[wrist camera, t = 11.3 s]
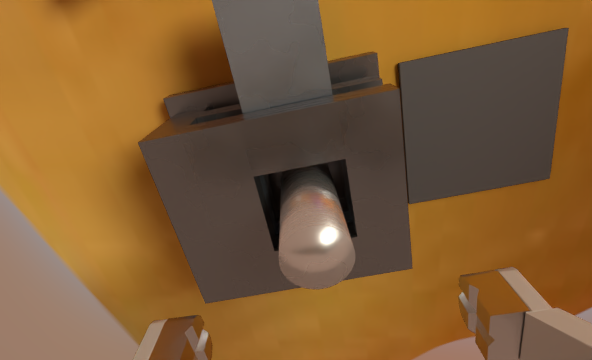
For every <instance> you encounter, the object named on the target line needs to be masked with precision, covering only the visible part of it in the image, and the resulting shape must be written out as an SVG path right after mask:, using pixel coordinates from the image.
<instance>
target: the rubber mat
mask: <svg viewBox="0 0 592 360" xmlns="http://www.w3.org/2000/svg"><path fill="white" fill-rule="evenodd" d="M567 36H568V28H562V29H558V30H553V31H548V32H543V33H539V34H534V35H529V36H525V37H520V38H515V39H510V40H506V41H501V42H496V43H491V44H487V45H482V46H477V47H473V48H468V49H463V50H458V51H454V52H449V53H444V54H440V55H435V56H430V57H425V58H421V59H416V60H411V61H406V62H402V63H398V68H399V82H400V96H401V110H402V124H403V138H404V152H405V166H406V180H407V193H408V203H409V204H413V203H418V202H424V201H429V200H435V199H440V198H446V197H451V196H457V195H462V194H468V193H473V192H479V191H484V190H490V189H495V188H501V187H506V186H512V185H517V184H523V183H528V182H533V181H539V180H544V179H550V172H551V164H552V156H553V148H554V140H555V132H556V124H557V116H558V108H559V100H560V92H561V84H562V76H563V68H564V60H565V52H566V44H567Z"/></svg>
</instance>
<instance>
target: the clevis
mask: <svg viewBox="0 0 592 360" xmlns="http://www.w3.org/2000/svg"><path fill="white" fill-rule="evenodd" d="M212 2H213V6H214V10H215V13H216V17H217V21H218V24H219V28H220V32H221V35H222V39H223V43H224V46H225V50H226V54H227V57H228V61H229V65H230V68H231V72H232V76H233V79H234V81H233V82H229V83H224V84H219V85H215V86H210V87H205V88H201V89H196V90H192V91H187V92H182V93H178V94H173V95H169V96H167V97H166V98H164V99H163V100H164V102H165V105H166V108H167V110H168V113H169V116H170V119H169V120H167V121H166V122H165V123H163V124H162V125H161V126H159V127H158V128H157V129H155V130H154V131H153V132H151V133H150V134H149V135H147V136H146V137H145V138H144V139H142V140H141V141H140V142H138V144H139V146H140V149H141V151H142V154H143V156H144V158H145V161H146V163H147V165H148V168H149V170H150V173H151V175H152V177H153V180H154V182H155V184H156V187H157V189H158V192H159V194H160V196H161V199H162V201H163V204H164V206H165V208H166V211H167V213H168V215H169V218H170V220H171V223H172V225H173V227H174V230H175V232H176V234H177V237H178V239H179V242H180V244H181V246H182V249H183V251H184V254H185V256H186V258H187V261H188V263H189V265H190V268H191V270H192V273H193V275H194V277H195V280H196V282H197V284H198V287H199V289H200V292H201V294H202V296H203V299H204V301H205V304H206V303H212V302H218V301H223V300H229V299H235V298H241V297H247V296H253V295H259V294H265V293H271V292H277V291H283V290H288V289H294V288H300V286H298V285H295V284H294V283H292V282H291V281H289V280H288V279H287V278H286V277H285V276H284V274H283V273H282V271H281V269H280V266H279V233H280V205H281V176H282V171H286V170H291V169H296V168H301V167H306V166H311V165H316V164H322V163H328V166H329V170H330V173H331V176H332V179H333V182H334V186H335V189H336V192H337V195H338V198H339V202H340V205H341V208H342V211H343V214H344V218H345V221H346V224H347V227H348V230H349V234H350V237H351V240H352V243H353V246H354V250H355V263H354V266H353V268H352V270H351V272H350V273H349V274H348V276H347V277H346V278H345V279H343V280H348V279H353V278H359V277H365V276H371V275H377V274H383V273H389V272H395V271H401V270H407V269H412V255H411V242H410V228H409V214H408V200H407V186H406V173H405V159H404V145H403V131H402V118H401V104H400V90H399V88H397V87H395V86H394V85H392V84H385V85H383V83H382V79H381V78H379V68H378V58H377V53H376V52H368V53H363V54H359V55H354V56H349V57H345V58H340V59H336V60H331V61H327V56H326V49H325V43H324V36H323V30H322V23H321V17H320V11H319V4H318V0H212Z"/></svg>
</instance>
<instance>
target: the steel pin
mask: <svg viewBox="0 0 592 360" xmlns="http://www.w3.org/2000/svg"><path fill="white" fill-rule="evenodd" d="M354 263H355V250H354V246H353V243H352V240H351V237H350V234H349V230H348V227H347V224H346V221H345V218H344V214H343V211H342V208H341V205H340V202H339V198H338V195H337V192H336V189H335V186H334V182H333V179H332V176H331V173H330V170H329V166H328V163H322V164H316V165H311V166H306V167H301V168H296V169H291V170H286V171H282V176H281V205H280V233H279V266H280V269H281V271H282V273H283V274H284V276H285V277H286V278H287V279H288V280H289V281H291V282H292V283H294V284H295V285H298V286H300V287H303V288H307V289H323V288H328V287H331V286H333V285H336V284H338V283H339V282H341V281H342V280H343V279H345V278H346V277H347V276H348V274H349V273H350V272H351V270H352V268H353V266H354Z"/></svg>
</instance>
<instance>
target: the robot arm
mask: <svg viewBox="0 0 592 360" xmlns="http://www.w3.org/2000/svg"><path fill="white" fill-rule="evenodd" d="M459 287H460V288H461V290H462V293H461V294H460V295H459V308H460V312H461V315H462V318H463V320H464V322H465V324H466V326H467V328H468V329H469V330H471V331H472V332H474V333H475V334H476V340H475V341H476V344H477V345H478V348H479V349H480V351H481V353H482V354H483V356H484V358H485V360H592V324H591V323H589V322H587V321H585V320H583V319H581V318H579V317H577V316H574V315H572V314H570V313H568V312H566V311H564V310H562V309H560V308H552V307H551V306H550V305H549V304H548V303H547V302H546V301H545V300H544V299H543V298H542V296H541V295H540V294H539V293H538V292H537V291H536V290H535V289H534V288H533V287H532V285H531V284H530V283H529V282H528V281H527V280H526V279H525V278H524V277H523V276H522V274H521V273H520V272H519V271H518V270H517V269H516V268H514V267H509V268H503V269H496V270H490V271H484V272H478V273H472V274H466V275H460V277H459ZM203 326H204V321H203V319H202V317H201V316H199V315H194V316H186V317H178V318H170V319H165V320H156V321H153V322H152V323H151V324H150V325H149V327H148V329H147V331H146V333H145V335H144V338H143V340H142V342H141V344H140V346H139V348H138V350H137V352H136V354H135V356H134V358H133V360H211V358H212V341H211V337H210V335H209V333H208V332H207V331H205V330H203Z"/></svg>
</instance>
